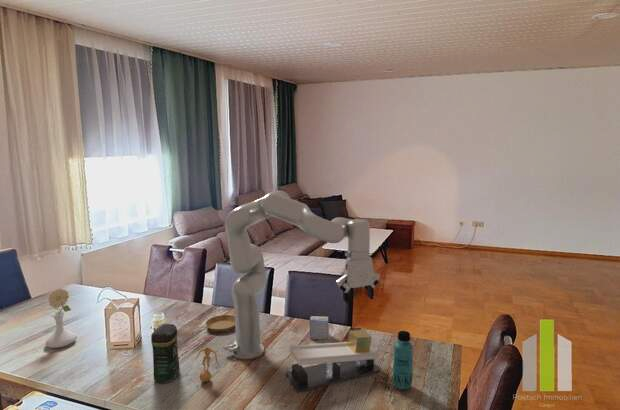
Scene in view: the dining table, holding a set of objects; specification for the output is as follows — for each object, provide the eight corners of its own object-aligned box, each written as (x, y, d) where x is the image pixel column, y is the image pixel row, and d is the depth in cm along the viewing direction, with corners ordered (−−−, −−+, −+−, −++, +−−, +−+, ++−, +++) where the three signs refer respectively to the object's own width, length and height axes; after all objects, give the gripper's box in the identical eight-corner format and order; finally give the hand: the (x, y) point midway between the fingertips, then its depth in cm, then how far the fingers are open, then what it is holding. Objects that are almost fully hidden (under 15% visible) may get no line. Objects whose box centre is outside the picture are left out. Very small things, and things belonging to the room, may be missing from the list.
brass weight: (355, 353, 144) (357, 337, 144) (347, 346, 150) (349, 330, 149) (369, 352, 147) (371, 337, 146) (361, 345, 152) (363, 329, 152)
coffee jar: (173, 383, 140) (169, 334, 138) (150, 383, 141) (146, 334, 138) (183, 368, 150) (179, 321, 147) (162, 368, 150) (158, 321, 147)
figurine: (192, 382, 141) (190, 351, 139) (200, 373, 147) (198, 342, 145) (213, 386, 139) (211, 353, 137) (221, 376, 145) (219, 345, 143)
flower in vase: (39, 347, 167) (32, 290, 163) (65, 335, 177) (58, 281, 173) (61, 353, 162) (54, 294, 158) (86, 340, 172) (80, 285, 168)
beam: (298, 365, 134) (299, 358, 134) (289, 351, 143) (290, 345, 143) (375, 358, 146) (376, 352, 145) (362, 346, 154) (363, 340, 154)
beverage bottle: (390, 382, 139) (391, 328, 136) (408, 381, 140) (410, 327, 137) (395, 394, 133) (396, 337, 130) (415, 393, 133) (416, 336, 130)
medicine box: (328, 335, 174) (328, 316, 173) (328, 340, 170) (328, 320, 169) (310, 334, 175) (310, 315, 174) (309, 339, 171) (309, 320, 169)
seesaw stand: (297, 393, 134) (297, 375, 133) (286, 374, 145) (285, 357, 144) (380, 372, 146) (380, 355, 145) (363, 356, 157) (364, 340, 156)
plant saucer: (202, 323, 187) (202, 318, 187) (233, 317, 194) (233, 312, 193) (209, 337, 174) (209, 331, 174) (242, 330, 180) (242, 324, 180)
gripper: (341, 260, 136) (341, 307, 138) (385, 254, 142) (384, 300, 145) (332, 254, 143) (332, 300, 145) (374, 249, 149) (374, 292, 152)
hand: (358, 300), depth 145 cm, fingers open, 9 cm apart
